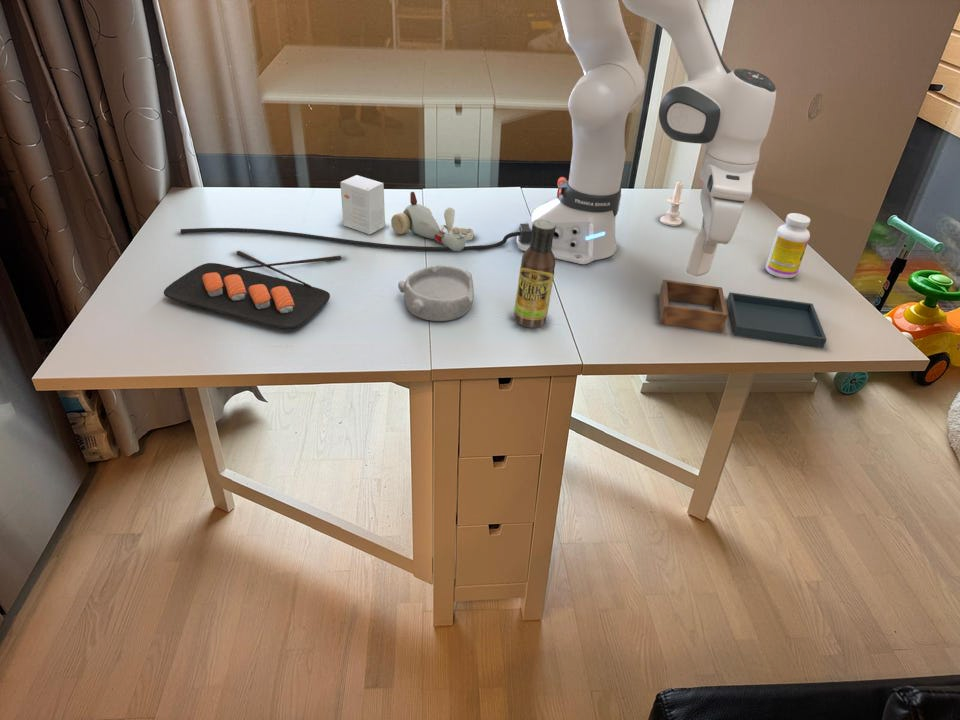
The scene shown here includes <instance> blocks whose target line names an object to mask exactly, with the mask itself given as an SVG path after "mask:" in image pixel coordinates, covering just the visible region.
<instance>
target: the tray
mask: <svg viewBox="0 0 960 720" xmlns="http://www.w3.org/2000/svg"><path fill="white" fill-rule="evenodd" d="M726 305H727V308H728V314H729V317H730V323H731V328H732V332H733V336H737V337H743V338H748V339H749V338H750V339H756V340H764V341H771V342H776V343H777V342H778V343H784V344H790V345H791V344H792V345H798V346H805V347H812V348H819V349H824V347H825V345H826V342H827V340H828V339H827V337H826V336H827V335H826V334H825V332H824V329H823V326H822V323H821V322H820V319H819V316H818V313H817V311H816V308H815V306H814V303H810V302H803V301H795V300H789V299H782V298H774V297H767V296H759V295H752V294H745V293H739V292H738V293H737V292H730V291H729V293H728V296H727V298H726Z"/></svg>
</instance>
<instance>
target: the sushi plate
mask: <svg viewBox="0 0 960 720" xmlns="http://www.w3.org/2000/svg"><path fill="white" fill-rule="evenodd" d="M236 254H237V255H239V256H240V257H242V258H245V259H247V260H249V261H251V262H254V263H256V264H257V265H248V266H247V265H246V266H238V267H236V266H231V265H227V264H223V263H216V262H207V263H202V264H200V265H198V266H197V267H194V268H193V269H191V270H190V271H188V272H186V273H185V274H183V275H182V276H180V277H179V278H178V279H176V280H174V281H173V282H171V283H170V284H169V285H167V286H166V287H165V289H164V290H163V295H164V296H165V297H166V298H168V299H171V300H173V301H176V302H180V303H183V304H187V305H191V306H194V307H198V308H201V309H202V308H203V309H206V310H209V311H213V312H217V313H220V314H224V315H229V316H231V317H236V318H239V319H243V320H247V321H251V322H254V323H258V324H262V325H266V326H269V327H272V328H273V327H274V328H278V329H284V330H292V329H293V330H294V329H296V328H299V327H301V326H302V325H304V324H305V323H306V322H308V321H309V320H310V319H311V318H312V317H314V315H316V314H317V313H318V312H319V311H320V310H321V309H322V308H323V307H324V306H325V305H326V304H327V303H328V301H330V298H331V294H330V292H328V291H327V290H325V289H322V288H319V287H315V286H312V285H310V284H308V283H306V282H304V281H302V280H300V279H299V278H296V277H294V276H292V275H290V274H287V273H286V272H284V271H282V270H279V269H277V268H276V267H274V266H285V265H296V264H307V263H317V262H319V263H320V262H328V261H337V260H338V261H339V260H342V256H341V255H337V256H336V255H333V256H326V257H325V256H324V257H316V258H308V259H307V258H306V259H301V260H292V261H291V260H290V261H283V262H275V263H274V262H273V263H265V262H263V261H261V260H260V259H257V258H255V257H253V256H251V255H249V254H247V253H245V252H243V251H241V250H236ZM256 268H266V269H270V270H272V271H274V272H275V273H279V274H281V275H283V276H285V277H287V278H289V279H290V280H288V279H284V278H279V277H276V276H272V275H268V274H264V273H260V272H257V271H251V270H248V269H256ZM292 280H294V281H292Z"/></svg>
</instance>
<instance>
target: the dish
mask: <svg viewBox="0 0 960 720" xmlns="http://www.w3.org/2000/svg"><path fill="white" fill-rule="evenodd" d="M397 286H398V290H399V291H400V293H403V294H404V300H405V301H404V302H405V305H406V308H407V309H408V311H409V312H410V313H411V314H412V315H414V316H416V317H417V318H420V319H423V320H426V321H433V322H445V321H446V322H447V321H452V320H456V319H458V318H460V317H462V316H464V315H466V314H467V313H468V312H469V310H470V309H471V307H472V305H473V303H474V297H475V294H474V292H475V289H474V280H473V275H472V273H471V271H470V270H468V269H467V270H465V269H462V268H460V267H456V266H452V265H443V264H442V265H441V264H440V265H439V264H438V265H435V266H426V267H423V268H421V269H418V270H416V271H414V272H412V273H411V274H409V275H408V276H407V277H406V279H405V280H399V281H398V284H397Z"/></svg>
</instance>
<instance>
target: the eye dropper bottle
mask: <svg viewBox="0 0 960 720" xmlns="http://www.w3.org/2000/svg"><path fill="white" fill-rule="evenodd" d="M700 230H701V229H700ZM700 230H699V231H698V232H697V235H696V236H695V239H694V243H693V246H692V250H691V253H690V256H689V261H688V264H687V268H686V273H687V274H689V275H692V276H693V277H702V276H704V275H706V274H708V273H709V271H710V270H711V267H712V265H713V261H714V258H715V255H716V251H717V247H718V244H719V243H717V245H716V246H715V249H714V252H713V254H707V253H704V251H703V246H704V242H705V241H706V238H707V233H706V228H705V224H704V228H703V229H702V230H701V231H700Z"/></svg>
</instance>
